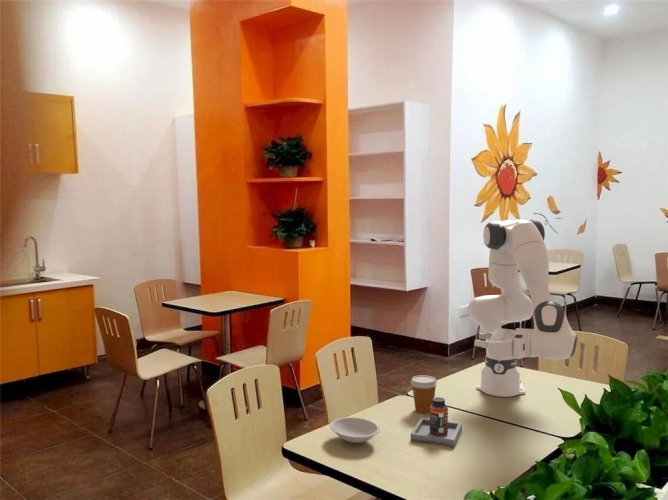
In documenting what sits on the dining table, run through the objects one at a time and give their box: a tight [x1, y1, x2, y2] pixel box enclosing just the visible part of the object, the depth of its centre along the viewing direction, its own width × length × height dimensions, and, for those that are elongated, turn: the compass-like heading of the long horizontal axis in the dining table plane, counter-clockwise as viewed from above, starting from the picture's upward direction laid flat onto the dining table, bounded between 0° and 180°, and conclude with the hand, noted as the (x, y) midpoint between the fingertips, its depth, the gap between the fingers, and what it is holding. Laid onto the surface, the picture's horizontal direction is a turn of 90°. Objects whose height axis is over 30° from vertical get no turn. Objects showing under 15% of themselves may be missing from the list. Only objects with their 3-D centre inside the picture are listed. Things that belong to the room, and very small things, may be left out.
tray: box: [410, 417, 463, 448], centre depth 187 cm, size 14×14×2 cm
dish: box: [329, 416, 380, 444], centre depth 184 cm, size 18×14×5 cm
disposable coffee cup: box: [410, 374, 438, 415], centre depth 209 cm, size 10×10×12 cm
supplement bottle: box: [429, 396, 449, 435], centre depth 187 cm, size 6×6×11 cm
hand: (476, 339), depth 185 cm, fingers open, 8 cm apart
